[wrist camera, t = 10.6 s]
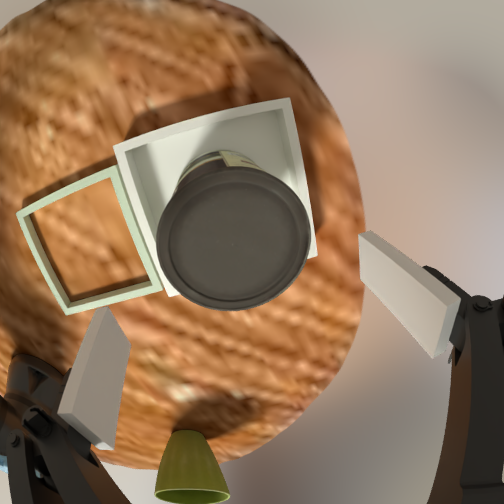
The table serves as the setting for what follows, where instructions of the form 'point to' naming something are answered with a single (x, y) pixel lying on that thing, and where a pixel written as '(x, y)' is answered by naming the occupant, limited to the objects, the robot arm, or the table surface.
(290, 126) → the bin
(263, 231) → the coffee can
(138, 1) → the table surface
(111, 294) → the frame
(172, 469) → the flower pot
